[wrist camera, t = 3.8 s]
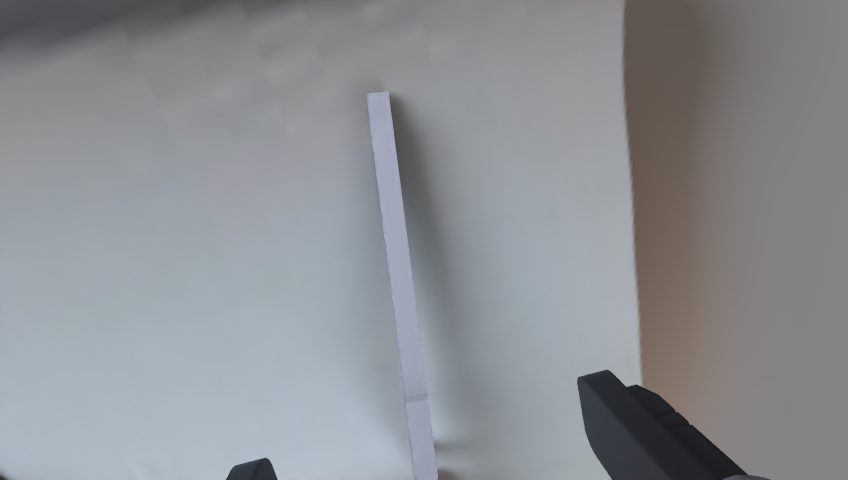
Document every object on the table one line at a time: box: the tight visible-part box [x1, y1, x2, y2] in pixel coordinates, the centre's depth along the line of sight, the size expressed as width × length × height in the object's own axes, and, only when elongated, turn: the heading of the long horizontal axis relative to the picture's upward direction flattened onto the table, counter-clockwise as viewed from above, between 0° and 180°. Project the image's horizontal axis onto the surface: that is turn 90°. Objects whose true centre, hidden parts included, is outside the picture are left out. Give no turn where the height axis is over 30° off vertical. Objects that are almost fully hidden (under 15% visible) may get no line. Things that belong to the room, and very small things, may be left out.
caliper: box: [367, 91, 438, 480], centre depth 17 cm, size 20×1×6 cm, turn 7°
